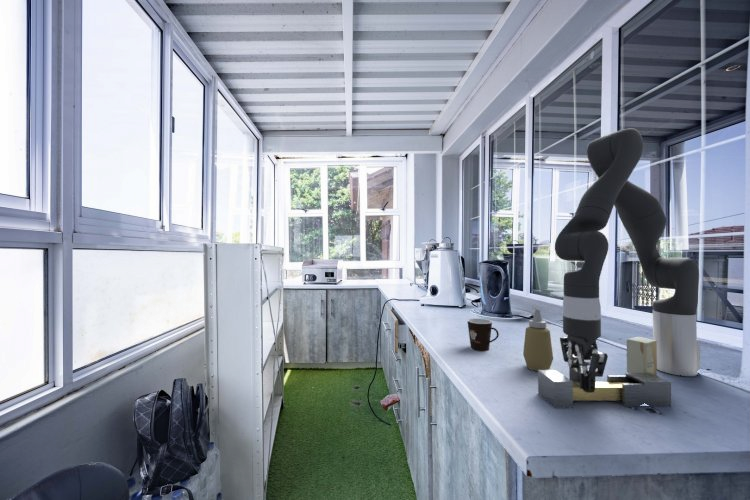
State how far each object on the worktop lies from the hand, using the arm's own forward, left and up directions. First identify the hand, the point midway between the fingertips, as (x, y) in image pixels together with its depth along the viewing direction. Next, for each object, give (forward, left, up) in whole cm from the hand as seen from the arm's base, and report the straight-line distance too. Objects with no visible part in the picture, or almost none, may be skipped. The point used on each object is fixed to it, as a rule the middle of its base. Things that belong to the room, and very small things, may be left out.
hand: (582, 386), depth 73 cm
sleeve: (-13, 0, -3) cm, 14 cm away
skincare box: (-21, -8, -3) cm, 23 cm away
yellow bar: (-4, 0, -3) cm, 5 cm away
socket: (+7, 0, -3) cm, 7 cm away
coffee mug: (+11, -38, -3) cm, 40 cm away
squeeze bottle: (0, -20, -3) cm, 20 cm away
